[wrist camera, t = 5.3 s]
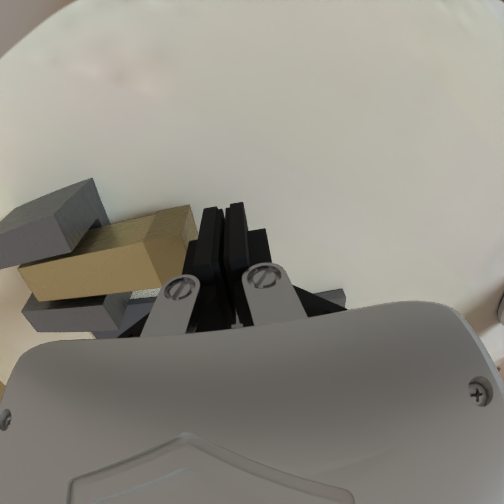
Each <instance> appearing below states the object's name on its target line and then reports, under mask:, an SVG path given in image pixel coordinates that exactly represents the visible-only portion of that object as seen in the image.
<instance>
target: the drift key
mask: <svg viewBox="0 0 504 504" xmlns="http://www.w3.org/2000/svg"><path fill="white" fill-rule="evenodd" d="M197 239H198V231H197V228H196V224H195V221H194V218H193V214H192V210H191V207H190V205H185V206H180V207H175V208H170V209H165V210H161V211H157V213H156V214H155V215H151V216H146V217H141V218H137V219H133V220H128V221H124V222H119V223H115V224H111V225H107V226H103V227H99V228H95V229H91V230H87V232H86V233H85V234H84V236H83V237H82V239H81V240H80V241H79V243H78V244H77V245H76V247H75V248H74V250H73V251H72V252H70V253H65V254H61V255H57V256H52V257H48V258H44V259H40V260H35V261H31V262H27V263H23V264H21V265H20V266H19V268H18V271H19V272H20V274H21V276H22V277H23V279H24V280H25V282H26V283H27V285H28V287H29V288H30V290H31V291H32V293H33V294H34V296H35V297H36V298H37V300H38V301H39V302H40V301H50V300H60V299H69V298H78V297H87V296H96V295H105V294H113V293H121V292H129V291H137V290H145V289H153V288H161V287H162V286H163V285H164V284H165V283H166V282H167V281H168V280H170V279H172V278H173V277H176V276H179V275H182V270H183V265H184V261H185V256H186V252H187V248H188V243H189V241H191V240H197Z"/></svg>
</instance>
